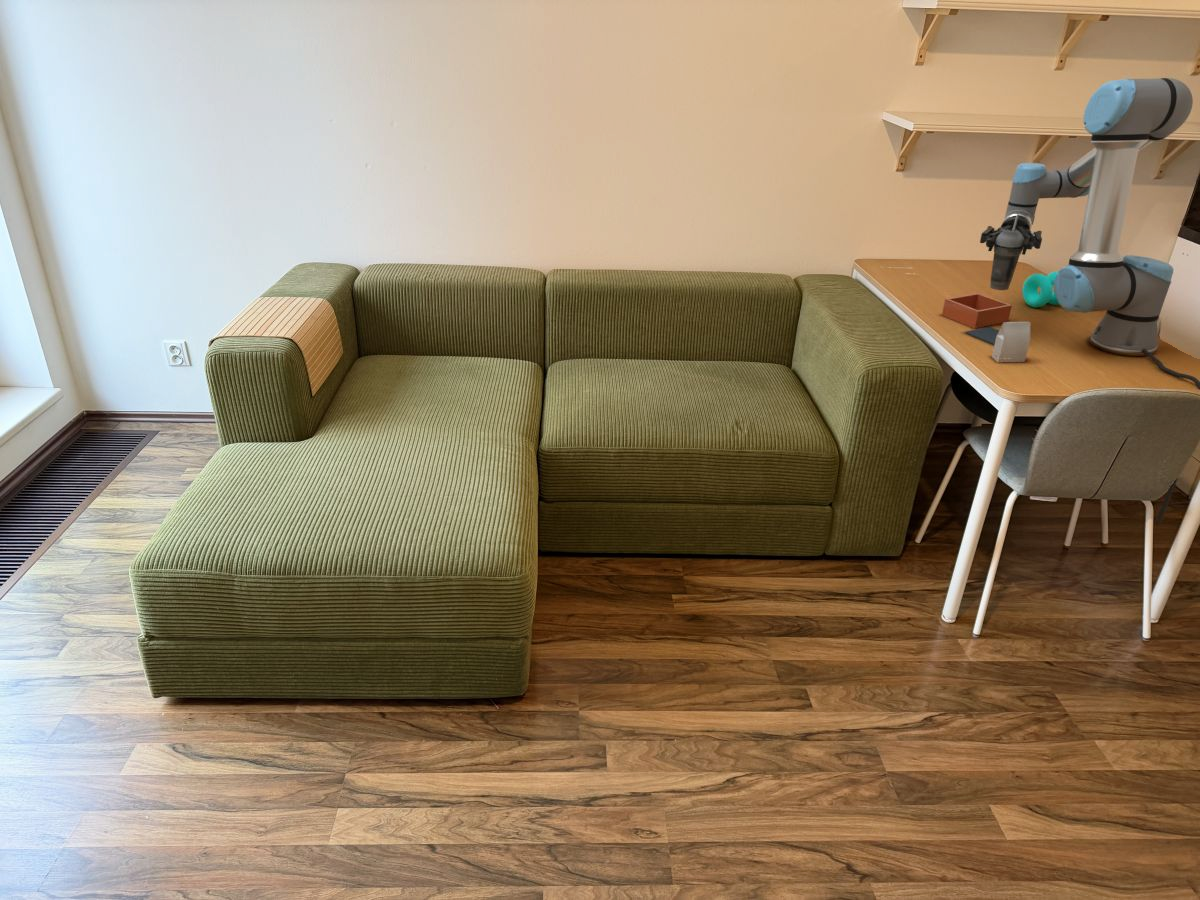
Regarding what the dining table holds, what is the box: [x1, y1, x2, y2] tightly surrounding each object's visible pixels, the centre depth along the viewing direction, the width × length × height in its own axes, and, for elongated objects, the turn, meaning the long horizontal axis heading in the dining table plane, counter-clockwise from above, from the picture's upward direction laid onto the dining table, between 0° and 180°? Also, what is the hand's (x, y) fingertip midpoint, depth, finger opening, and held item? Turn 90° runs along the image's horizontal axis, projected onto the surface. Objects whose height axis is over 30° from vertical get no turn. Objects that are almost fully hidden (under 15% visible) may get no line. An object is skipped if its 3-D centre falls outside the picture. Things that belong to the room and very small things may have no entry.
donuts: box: [1021, 270, 1060, 308], centre depth 239 cm, size 10×10×10 cm
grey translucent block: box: [991, 321, 1032, 363], centre depth 203 cm, size 4×7×10 cm, turn 91°
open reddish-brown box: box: [941, 292, 1013, 329], centre depth 231 cm, size 13×13×5 cm
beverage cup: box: [989, 213, 1024, 291], centre depth 210 cm, size 7×7×20 cm
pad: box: [965, 326, 1000, 346], centre depth 219 cm, size 10×9×1 cm
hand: (1007, 247), depth 206 cm, fingers closed on beverage cup, 7 cm apart
